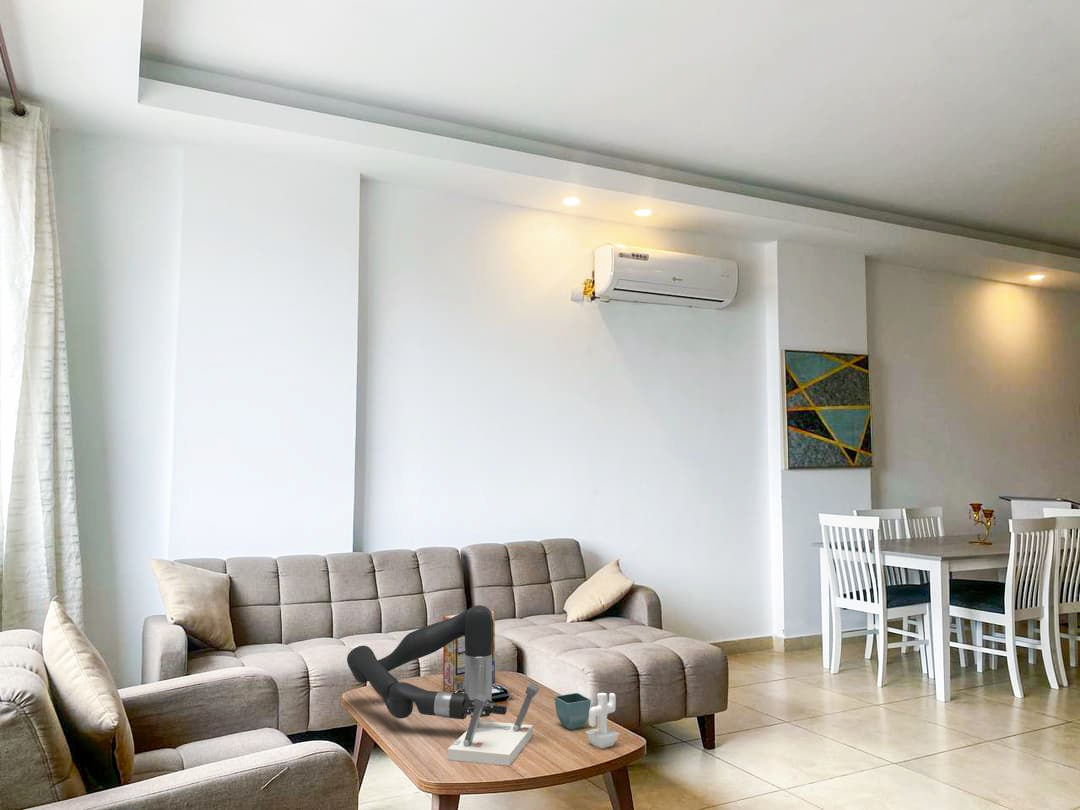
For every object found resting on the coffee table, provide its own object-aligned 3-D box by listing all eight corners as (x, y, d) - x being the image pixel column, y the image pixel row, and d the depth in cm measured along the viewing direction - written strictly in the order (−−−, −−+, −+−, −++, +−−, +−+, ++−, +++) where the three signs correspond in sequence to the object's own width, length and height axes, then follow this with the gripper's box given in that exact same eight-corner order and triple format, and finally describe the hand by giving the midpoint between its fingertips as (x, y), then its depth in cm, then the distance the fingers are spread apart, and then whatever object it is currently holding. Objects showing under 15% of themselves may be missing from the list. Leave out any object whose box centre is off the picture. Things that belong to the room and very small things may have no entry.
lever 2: (514, 724, 252) (531, 682, 251) (522, 728, 251) (539, 687, 251) (510, 728, 248) (527, 686, 247) (518, 733, 247) (535, 691, 246)
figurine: (582, 744, 245) (582, 693, 246) (606, 738, 250) (606, 688, 251) (598, 751, 239) (597, 698, 240) (622, 745, 245) (622, 693, 245)
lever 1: (465, 739, 239) (480, 693, 239) (474, 742, 238) (488, 697, 238) (460, 744, 234) (475, 698, 234) (469, 748, 234) (484, 701, 234)
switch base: (477, 730, 257) (477, 719, 258) (533, 735, 253) (533, 724, 253) (447, 759, 232) (447, 747, 232) (509, 765, 228) (509, 753, 228)
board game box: (484, 680, 315) (485, 608, 316) (495, 683, 310) (496, 610, 312) (442, 691, 300) (443, 615, 302) (452, 694, 296) (453, 618, 298)
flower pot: (567, 733, 255) (567, 703, 256) (553, 724, 263) (553, 696, 264) (591, 728, 259) (591, 699, 260) (577, 720, 267) (577, 692, 268)
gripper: (457, 710, 260) (511, 716, 257) (444, 724, 247) (500, 730, 244) (458, 686, 261) (511, 691, 257) (445, 699, 248) (500, 704, 244)
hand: (506, 710), depth 250 cm, fingers closed
